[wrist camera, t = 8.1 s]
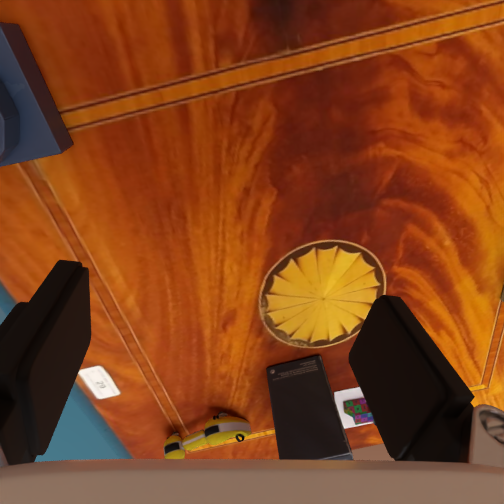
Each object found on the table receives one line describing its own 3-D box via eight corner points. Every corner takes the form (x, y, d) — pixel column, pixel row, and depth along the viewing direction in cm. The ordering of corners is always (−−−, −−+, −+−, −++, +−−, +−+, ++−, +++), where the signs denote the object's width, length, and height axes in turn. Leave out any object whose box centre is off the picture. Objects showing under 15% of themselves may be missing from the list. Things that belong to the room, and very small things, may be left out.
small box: (261, 367, 37) (277, 470, 28) (320, 352, 37) (355, 451, 28) (281, 421, 43) (299, 522, 34) (332, 409, 42) (364, 507, 33)
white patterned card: (377, 395, 41) (385, 413, 39) (376, 409, 43) (385, 427, 41) (343, 402, 41) (350, 420, 39) (344, 415, 43) (350, 434, 41)
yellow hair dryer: (222, 402, 38) (229, 436, 36) (246, 409, 43) (254, 440, 41) (148, 435, 40) (151, 469, 37) (179, 438, 44) (183, 468, 42)
